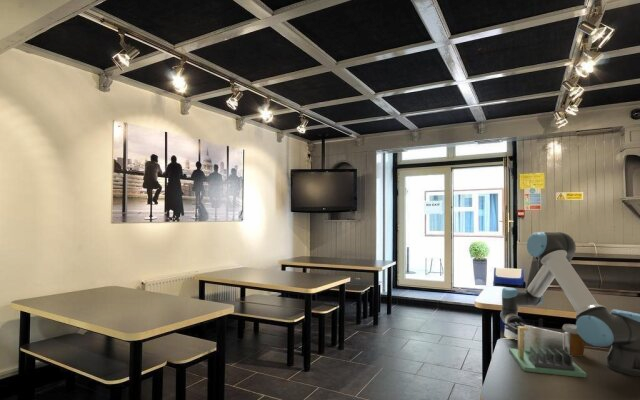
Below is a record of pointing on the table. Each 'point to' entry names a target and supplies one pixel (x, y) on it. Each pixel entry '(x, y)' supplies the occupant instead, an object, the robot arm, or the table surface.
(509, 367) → the table surface
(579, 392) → the table surface
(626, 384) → the table surface
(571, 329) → the disposable coffee cup
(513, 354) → the motherboard
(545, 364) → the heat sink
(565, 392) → the table surface
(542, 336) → the grey flat slab
